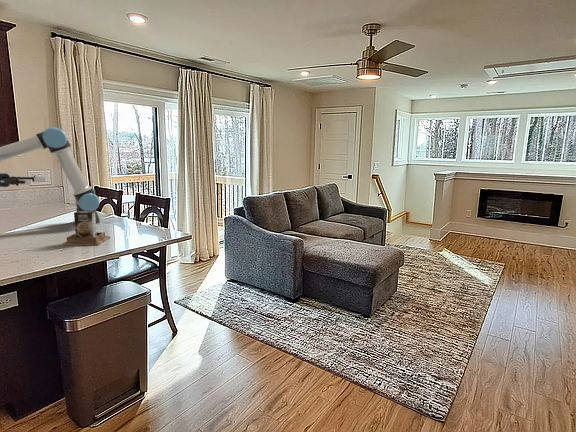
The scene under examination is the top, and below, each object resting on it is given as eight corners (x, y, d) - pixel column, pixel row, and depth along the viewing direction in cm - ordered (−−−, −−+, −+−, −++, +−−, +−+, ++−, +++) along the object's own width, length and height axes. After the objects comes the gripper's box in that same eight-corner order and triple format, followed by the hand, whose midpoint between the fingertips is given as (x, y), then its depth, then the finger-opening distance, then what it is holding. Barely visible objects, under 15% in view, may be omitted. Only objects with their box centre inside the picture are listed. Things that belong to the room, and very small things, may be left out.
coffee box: (75, 242, 199) (73, 212, 196) (79, 239, 205) (77, 210, 202) (94, 241, 201) (91, 212, 198) (97, 238, 207) (95, 210, 204)
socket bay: (77, 237, 212) (77, 230, 211) (110, 238, 213) (109, 231, 212) (63, 245, 196) (62, 237, 195) (98, 245, 198) (97, 238, 197)
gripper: (14, 184, 219) (52, 185, 220) (-17, 189, 194) (26, 190, 196) (13, 171, 217) (51, 172, 219) (-19, 175, 193) (24, 176, 194)
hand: (39, 180), depth 207 cm, fingers open, 13 cm apart
